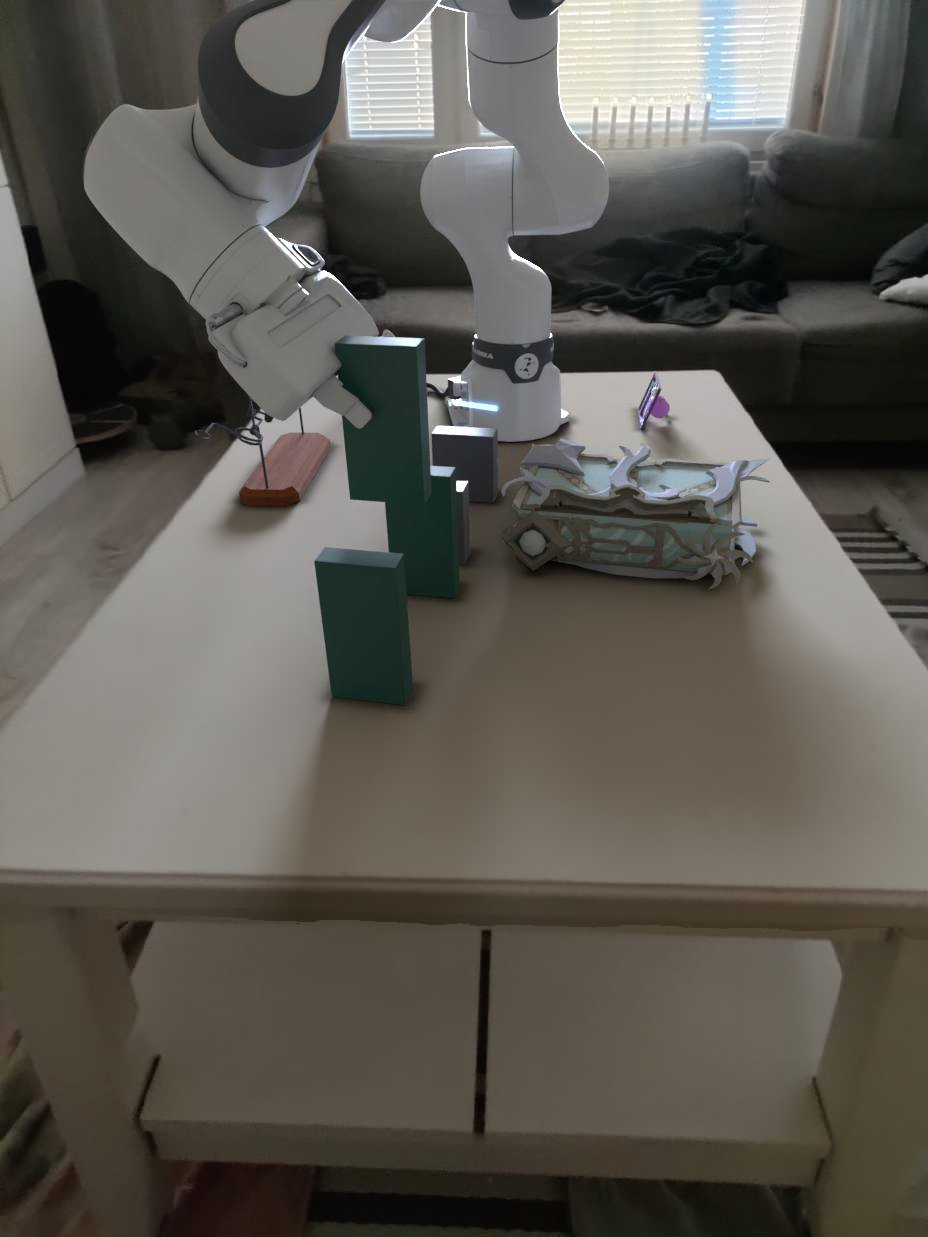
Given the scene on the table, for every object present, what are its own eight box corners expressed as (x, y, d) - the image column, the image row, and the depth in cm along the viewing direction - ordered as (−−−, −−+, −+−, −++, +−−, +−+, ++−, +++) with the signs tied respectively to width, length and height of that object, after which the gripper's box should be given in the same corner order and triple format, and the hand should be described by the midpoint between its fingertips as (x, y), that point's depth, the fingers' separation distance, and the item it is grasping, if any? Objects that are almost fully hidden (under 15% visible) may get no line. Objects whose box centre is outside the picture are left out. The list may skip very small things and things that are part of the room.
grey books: (439, 489, 119) (436, 425, 115) (497, 493, 118) (497, 428, 113) (397, 558, 103) (392, 486, 98) (464, 564, 101) (462, 491, 96)
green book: (359, 488, 82) (344, 335, 75) (431, 493, 81) (424, 338, 74) (349, 499, 80) (334, 343, 73) (424, 505, 79) (416, 346, 71)
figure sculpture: (283, 434, 139) (259, 265, 126) (337, 434, 138) (319, 265, 125) (211, 535, 109) (170, 328, 96) (279, 536, 108) (248, 328, 95)
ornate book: (492, 582, 99) (772, 601, 92) (488, 503, 94) (784, 517, 87) (527, 500, 118) (763, 510, 111) (526, 430, 113) (773, 436, 106)
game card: (650, 369, 141) (654, 386, 133) (681, 380, 141) (686, 398, 134) (633, 407, 144) (636, 427, 137) (663, 418, 145) (667, 438, 137)
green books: (398, 581, 98) (389, 462, 91) (459, 586, 97) (456, 466, 89) (331, 696, 80) (313, 560, 73) (405, 705, 79) (395, 568, 72)
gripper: (218, 292, 63) (360, 431, 66) (319, 243, 80) (428, 356, 83) (173, 353, 66) (311, 482, 70) (280, 293, 83) (386, 400, 87)
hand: (375, 413), depth 77 cm, fingers closed on green book, 2 cm apart
